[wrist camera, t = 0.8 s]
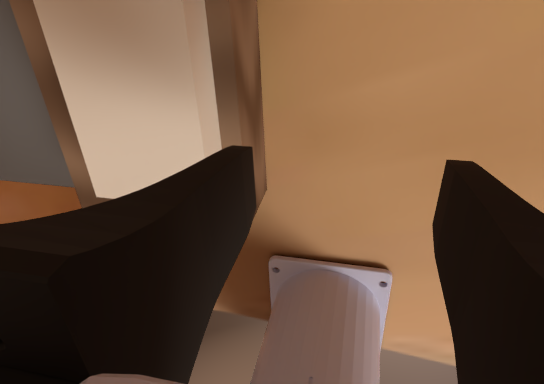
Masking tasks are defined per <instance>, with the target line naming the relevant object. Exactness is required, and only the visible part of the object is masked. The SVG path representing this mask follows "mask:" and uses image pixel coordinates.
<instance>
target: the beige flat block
mask: <svg viewBox="0 0 544 384" xmlns="http://www.w3.org/2000/svg"><path fill="white" fill-rule="evenodd" d="M33 2H34V5H35V8H36V11H37V15H38V18H39V21H40V24H41V27H42V30H43V33H44V36H45V39H46V42H47V45H48V49H49V52H50V55H51V58H52V61H53V64H54V67H55V70H56V73H57V76H58V79H59V83H60V86H61V89H62V92H63V95H64V98H65V101H66V104H67V107H68V110H69V114H70V117H71V120H72V123H73V126H74V129H75V132H76V135H77V138H78V141H79V144H80V148H81V151H82V154H83V157H84V160H85V163H86V166H87V169H88V172H89V175H90V178H91V182H92V185H93V188H94V191H95V194H96V197H101V198H111V199H116V198H118V197H121V196H124V195H127V194H130V193H132V192H135V191H138V190H140V189H143V188H145V187H148V186H150V185H152V184H155V183H157V182H159V181H161V180H163V179H165V178H167V177H169V176H171V175H173V174H175V173H178V172H180V171H182V170H184V169H186V168H188V167H189V166H191V165H193V164H195V163H197V162H199V161H201V160H203V159H204V158H206V157H208V156H210V155H212V154H214V153H216V152H218V151H220V150H222V147H221V138H220V130H219V121H218V112H217V104H216V95H215V86H214V78H213V69H212V60H211V52H210V43H209V35H208V26H207V17H206V9H205V0H33Z"/></svg>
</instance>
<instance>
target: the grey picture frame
mask: <svg viewBox="0 0 544 384" xmlns="http://www.w3.org/2000/svg"><path fill="white" fill-rule="evenodd" d="M0 180H5V181H15V182H25V183H35V184H45V185H55V186H65V187H74V184H73V181H72V178H71V175H70V172H69V169H68V167H67V164H66V161H65V158H64V155H63V152H62V150H61V147H60V144H59V141H58V138H57V135H56V133H55V130H54V127H53V124H52V121H51V118H50V116H49V113H48V110H47V107H46V104H45V101H44V99H43V96H42V93H41V90H40V87H39V84H38V81H37V79H36V76H35V73H34V70H33V67H32V64H31V62H30V59H29V56H28V53H27V50H26V47H25V45H24V42H23V39H22V36H21V33H20V30H19V28H18V25H17V22H16V19H15V16H14V13H13V11H12V8H11V5H10V2H9V0H0Z"/></svg>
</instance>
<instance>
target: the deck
mask: <svg viewBox="0 0 544 384" xmlns="http://www.w3.org/2000/svg"><path fill="white" fill-rule="evenodd" d="M9 2H10V5H11V8H12V11H13V13H14V16H15V19H16V22H17V25H18V28H19V30H20V33H21V36H22V39H23V42H24V45H25V47H26V50H27V53H28V56H29V59H30V62H31V64H32V67H33V70H34V73H35V76H36V79H37V81H38V84H39V87H40V90H41V93H42V96H43V99H44V101H45V104H46V107H47V110H48V113H49V116H50V118H51V121H52V124H53V127H54V130H55V133H56V135H57V138H58V141H59V144H60V147H61V150H62V152H63V155H64V158H65V161H66V164H67V167H68V169H69V172H70V175H71V178H72V181H73V184H74V187H75V189H76V192H77V195H78V198H79V201H80V204H81V206H82V208H85V207H88V206H92V205H95V204H99V203H102V202H106V201H109V200H112V199H111V198H101V197H96V194H95V191H94V188H93V185H92V182H91V178H90V175H89V172H88V169H87V166H86V163H85V160H84V157H83V154H82V151H81V148H80V144H79V141H78V138H77V135H76V132H75V129H74V126H73V123H72V120H71V117H70V114H69V110H68V107H67V104H66V101H65V98H64V95H63V92H62V89H61V86H60V83H59V79H58V76H57V73H56V70H55V67H54V64H53V61H52V58H51V55H50V52H49V49H48V45H47V42H46V39H45V36H44V33H43V30H42V27H41V24H40V21H39V18H38V15H37V11H36V8H35V5H34V2H33V0H9ZM205 9H206V17H207V26H208V35H209V43H210V52H211V60H212V69H213V78H214V86H215V95H216V104H217V112H218V121H219V130H220V138H221V147H222V149H224V148H226V147H229V146H231V145H236V146H250V147H252V148H253V162H254V176H255V190H256V205H257V207H256V211H255V214H256V212H257V210H258V207H259V205H260V203H261V201H262V199H263V196H264V194H265V192H266V190H267V184H266V165H265V146H264V127H263V108H262V89H261V70H260V51H259V32H258V13H257V0H205ZM255 214H254V216H255ZM253 218H254V217H253Z"/></svg>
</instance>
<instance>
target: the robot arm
mask: <svg viewBox="0 0 544 384" xmlns="http://www.w3.org/2000/svg"><path fill="white" fill-rule="evenodd" d="M256 207H257V205H256V190H255V176H254V162H253V148H252V147H250V146H236V145H231V146H229V147H226V148H224V149H222V150H220V151H218V152H216V153H214V154H212V155H210V156H208V157H206V158H204V159H203V160H201V161H199V162H197V163H195V164H193V165H191V166H189V167H188V168H186V169H184V170H182V171H180V172H178V173H175V174H173V175H171V176H169V177H167V178H165V179H163V180H161V181H159V182H157V183H155V184H152V185H150V186H148V187H145V188H143V189H140V190H138V191H135V192H132V193H130V194H127V195H124V196H121V197H118V198H116V199H112V200H109V201H106V202H102V203H99V204H95V205H92V206H88V207H85V208H81V209H78V210H74V211H70V212H65V213H61V214H56V215H52V216H47V217H42V218H37V219H31V220H26V221H20V222H13V223H6V224H0V384H188V382H189V379H190V376H191V372H192V370H193V367H194V363H195V360H196V357H197V354H198V351H199V348H200V345H201V342H202V339H203V336H204V333H205V330H206V328H207V324H208V322H209V319H210V316H211V313H212V311H213V308H214V305H215V303H216V301H217V298H218V296H219V294H220V292H221V290H222V288H223V286H224V283H225V281H226V279H227V277H228V275H229V273H230V271H231V269H232V267H233V265H234V263H235V261H236V259H237V257H238V255H239V253H240V251H241V248H242V246H243V244H244V242H245V240H246V238H247V236H248V233H249V230H250V227H251V224H252V221H253V217H254V214H255V211H256ZM433 241H434V253H435V259H436V264H437V269H438V273H439V278H440V282H441V287H442V291H443V295H444V300H445V304H446V309H447V313H448V317H449V322H450V326H451V331H452V337H453V343H454V350H455V359H456V368H457V378H458V384H544V213H542V212H541V211H539V210H538V209H536V208H535V207H533V206H532V205H531V204H529V203H528V202H526V201H525V200H524V199H522V198H521V197H520V196H518V195H517V194H516V193H514V192H513V191H512V190H510V189H509V188H508V187H506V186H505V185H504V184H503V183H501V182H500V181H499V180H497V179H496V178H495V177H494V176H492V175H491V174H490V173H488V172H487V171H486V170H484V169H483V168H482V167H480V166H479V165H478V164H476V163H474V162H473V161H459V160H446V165H445V170H444V174H443V179H442V183H441V188H440V192H439V197H438V202H437V206H436V211H435V215H434V220H433ZM274 267H277V268H278V269H275V268H274ZM269 281H270V298H271V315H270V318H269V322H268V325H267V328H266V332H265V335H264V339H263V342H262V346H261V349H260V352H259V356H258V359H257V363H256V366H255V369H254V373H253V376H252V380H251V383H250V384H380V350H381V344H382V338H383V332H384V326H385V320H386V314H387V308H388V302H389V296H390V290H391V284H392V273H391V272H390V271H389V270H387V269H381V268H373V267H365V266H357V265H349V264H341V263H333V262H325V261H317V260H309V259H301V258H293V257H285V256H277V255H276V256H271V258H270V260H269ZM382 281H384V282H386V283H381V282H382Z"/></svg>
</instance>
